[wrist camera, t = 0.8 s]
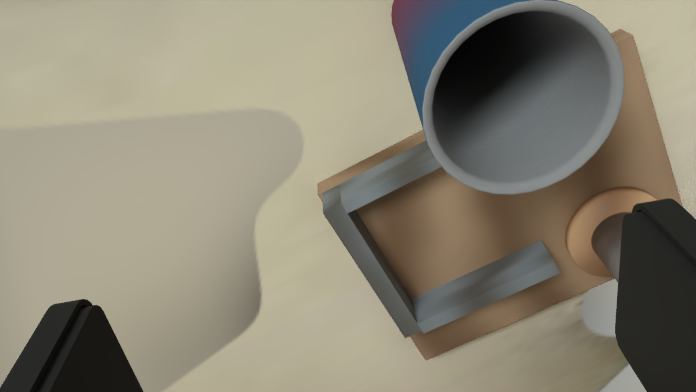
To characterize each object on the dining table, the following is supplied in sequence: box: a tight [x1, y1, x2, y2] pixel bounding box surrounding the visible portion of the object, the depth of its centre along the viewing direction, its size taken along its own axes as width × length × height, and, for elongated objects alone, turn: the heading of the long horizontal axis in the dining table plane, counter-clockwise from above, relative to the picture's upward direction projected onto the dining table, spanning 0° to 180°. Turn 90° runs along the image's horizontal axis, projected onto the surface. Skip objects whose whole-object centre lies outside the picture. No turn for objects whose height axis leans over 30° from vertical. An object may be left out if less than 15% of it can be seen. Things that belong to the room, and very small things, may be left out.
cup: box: [392, 0, 625, 195], centre depth 26 cm, size 7×7×15 cm
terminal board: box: [318, 29, 682, 360], centre depth 34 cm, size 20×16×12 cm
